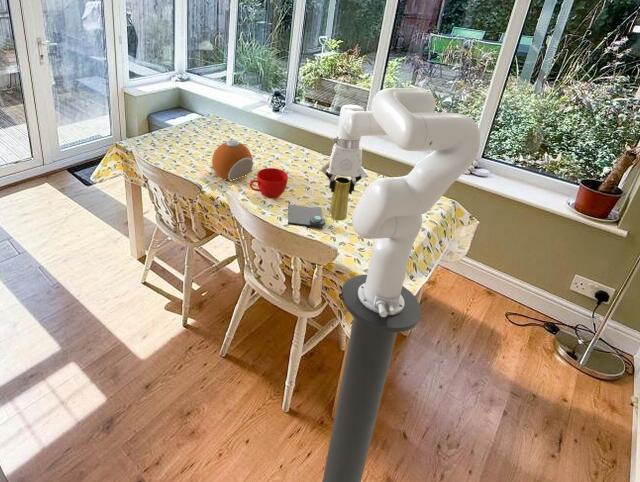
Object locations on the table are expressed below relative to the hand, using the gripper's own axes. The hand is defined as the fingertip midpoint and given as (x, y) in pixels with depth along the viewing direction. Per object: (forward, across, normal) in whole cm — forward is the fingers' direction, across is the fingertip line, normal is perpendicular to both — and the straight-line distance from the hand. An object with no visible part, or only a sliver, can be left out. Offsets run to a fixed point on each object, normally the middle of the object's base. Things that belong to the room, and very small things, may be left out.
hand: (341, 191), depth 142 cm
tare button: (+17, -6, +8) cm, 20 cm away
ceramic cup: (+19, -26, +27) cm, 42 cm away
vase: (+10, 0, 0) cm, 10 cm away
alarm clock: (+18, -44, +43) cm, 64 cm away
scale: (+19, -10, +13) cm, 25 cm away
